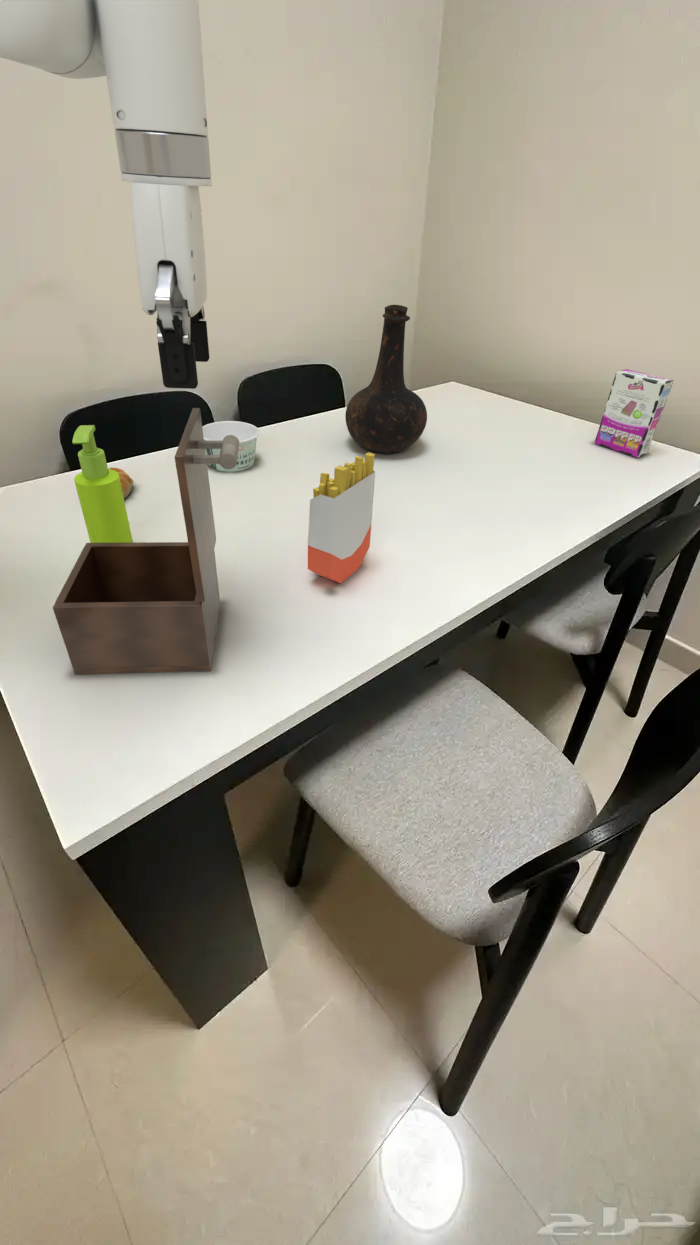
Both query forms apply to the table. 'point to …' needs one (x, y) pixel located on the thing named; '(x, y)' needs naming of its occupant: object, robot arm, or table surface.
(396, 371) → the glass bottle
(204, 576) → the lid
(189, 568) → the chest
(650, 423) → the candy bar box
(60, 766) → the table surface
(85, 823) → the table surface
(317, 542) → the french fries container
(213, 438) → the food container
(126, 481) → the pastry
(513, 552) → the table surface
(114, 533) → the soap dispenser
